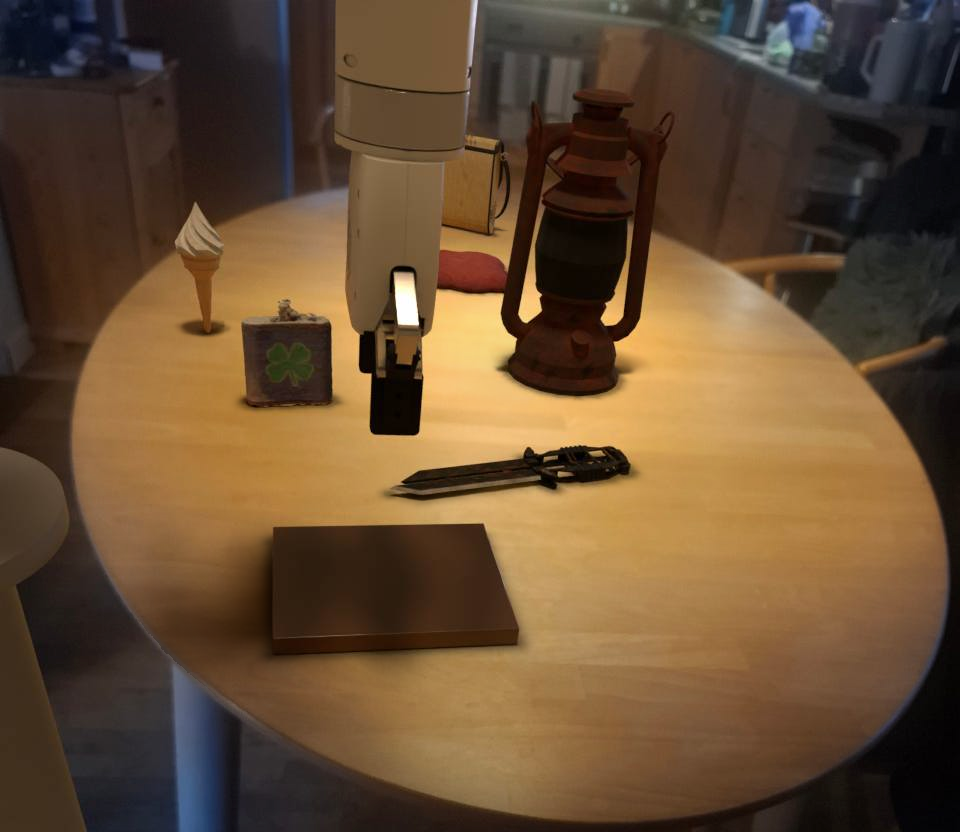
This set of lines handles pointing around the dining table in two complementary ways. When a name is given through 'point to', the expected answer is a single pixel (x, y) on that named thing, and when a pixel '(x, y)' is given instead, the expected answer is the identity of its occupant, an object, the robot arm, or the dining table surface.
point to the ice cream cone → (200, 257)
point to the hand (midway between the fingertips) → (387, 401)
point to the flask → (287, 358)
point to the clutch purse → (475, 185)
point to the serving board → (387, 588)
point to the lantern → (581, 243)
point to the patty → (471, 271)
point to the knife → (520, 471)
